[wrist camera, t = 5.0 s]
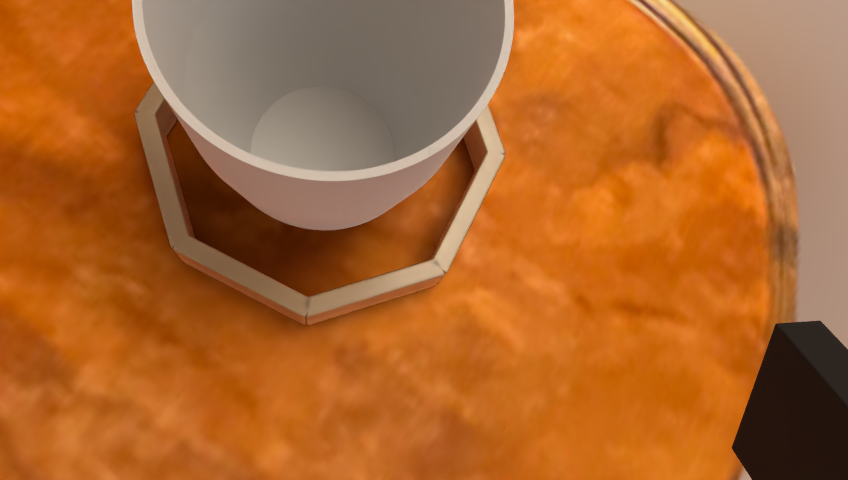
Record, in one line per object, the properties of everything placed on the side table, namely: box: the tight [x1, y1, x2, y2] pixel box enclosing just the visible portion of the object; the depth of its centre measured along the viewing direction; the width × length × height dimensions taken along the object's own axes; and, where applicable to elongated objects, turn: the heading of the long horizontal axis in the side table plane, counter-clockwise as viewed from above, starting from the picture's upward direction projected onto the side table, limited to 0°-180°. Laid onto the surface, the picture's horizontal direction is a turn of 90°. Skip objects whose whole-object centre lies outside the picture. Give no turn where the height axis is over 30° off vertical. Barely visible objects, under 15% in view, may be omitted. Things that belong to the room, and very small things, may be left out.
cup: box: [132, 0, 514, 230], centre depth 21 cm, size 8×8×10 cm
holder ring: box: [134, 82, 505, 325], centre depth 25 cm, size 11×11×2 cm
